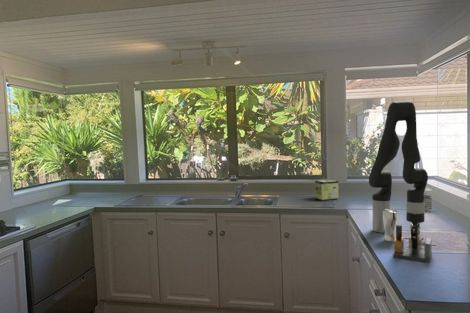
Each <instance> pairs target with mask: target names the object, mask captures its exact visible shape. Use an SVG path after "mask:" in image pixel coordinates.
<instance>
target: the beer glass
mask: <svg viewBox="0 0 470 313" xmlns="http://www.w3.org/2000/svg"><path fill="white" fill-rule="evenodd" d="M398 214H399V212H398V210H397V209H391V208H390V209H386V210H383V224H384V230H385V233H384V237H383V240H384V241H385V242H391V243H394V240H395V238H396V225H399V224H398V223H399V215H398Z"/></svg>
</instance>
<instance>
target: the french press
mask: <svg viewBox="0 0 470 313" xmlns="http://www.w3.org/2000/svg"><path fill="white" fill-rule="evenodd" d="M432 191H433V189H431V188H428V187H426V188H425V191H424V193H427V192H432ZM432 200H433V198H432V195H430V194H429V195H428V194H424V213H425V212H427V213H428V212H429V213H430V212H434V210H433V209H432V208H433V204H432V203H433V201H432Z"/></svg>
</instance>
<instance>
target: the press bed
mask: <svg viewBox="0 0 470 313" xmlns="http://www.w3.org/2000/svg"><path fill="white" fill-rule="evenodd" d="M392 257H393V258H395V259H403V260H409V261H417V262H423V263H431V257H432V237H428V236H427V237H426V238H425V241H424V249H422V248H421V249H415V248H409V247H406V246H404V249H403V251H402V253H399V252H394V251H393V255H392Z"/></svg>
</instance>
